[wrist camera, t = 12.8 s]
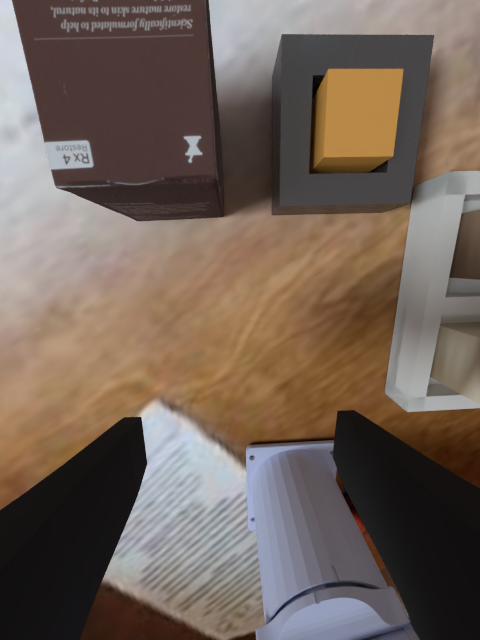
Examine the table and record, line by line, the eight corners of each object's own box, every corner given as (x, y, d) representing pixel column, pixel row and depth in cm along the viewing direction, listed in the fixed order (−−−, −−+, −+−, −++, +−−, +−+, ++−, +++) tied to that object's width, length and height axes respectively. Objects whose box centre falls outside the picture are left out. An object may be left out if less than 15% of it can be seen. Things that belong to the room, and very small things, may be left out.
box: (219, 112, 14) (209, -48, 7) (225, 219, 15) (221, 181, 8) (118, 114, 14) (-5, -48, 6) (133, 222, 15) (48, 187, 8)
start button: (360, 177, 14) (393, 156, 12) (304, 178, 14) (323, 157, 11) (366, 110, 14) (403, 68, 11) (307, 110, 13) (328, 68, 11)
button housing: (382, 212, 16) (410, 203, 13) (271, 215, 15) (279, 206, 13) (397, 75, 14) (433, 35, 11) (272, 75, 13) (281, 34, 11)
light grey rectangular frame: (480, 388, 19) (516, 405, 17) (384, 393, 19) (407, 411, 17) (533, 183, 15) (590, 168, 13) (414, 185, 15) (449, 171, 13)
